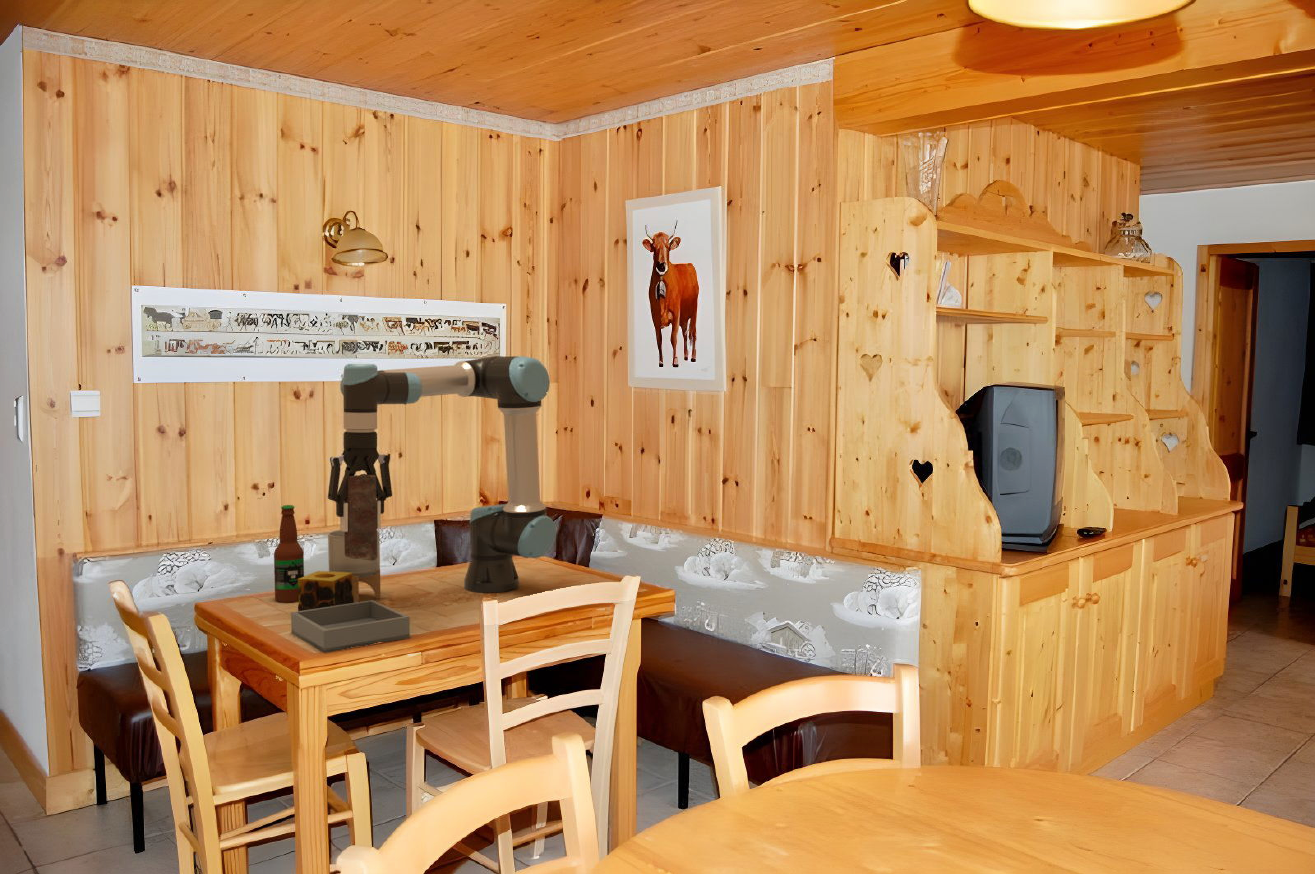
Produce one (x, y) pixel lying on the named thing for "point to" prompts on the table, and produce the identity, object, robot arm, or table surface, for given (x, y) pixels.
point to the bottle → (288, 559)
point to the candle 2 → (361, 518)
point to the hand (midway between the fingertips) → (360, 529)
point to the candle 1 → (325, 590)
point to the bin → (350, 625)
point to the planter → (354, 564)
